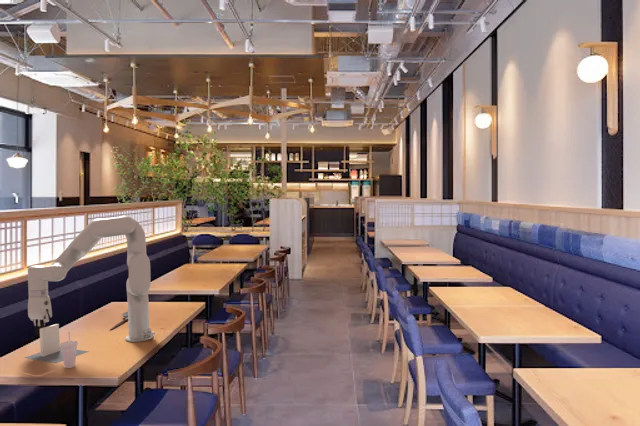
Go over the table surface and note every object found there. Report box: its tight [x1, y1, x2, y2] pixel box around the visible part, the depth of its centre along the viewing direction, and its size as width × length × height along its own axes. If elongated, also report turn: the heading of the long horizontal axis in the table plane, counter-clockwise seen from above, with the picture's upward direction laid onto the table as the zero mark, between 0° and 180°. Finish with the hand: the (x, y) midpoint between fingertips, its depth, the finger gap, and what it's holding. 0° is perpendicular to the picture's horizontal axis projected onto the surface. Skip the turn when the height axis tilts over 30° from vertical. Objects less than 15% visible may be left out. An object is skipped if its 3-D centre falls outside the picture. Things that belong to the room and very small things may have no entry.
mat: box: [24, 347, 89, 364], centre depth 211 cm, size 20×16×1 cm
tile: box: [39, 323, 61, 357], centre depth 212 cm, size 2×8×12 cm, turn 156°
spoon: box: [109, 311, 128, 331], centre depth 265 cm, size 11×33×3 cm, turn 178°
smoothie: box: [60, 331, 79, 369], centre depth 196 cm, size 6×6×14 cm
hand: (40, 334), depth 214 cm, fingers closed
